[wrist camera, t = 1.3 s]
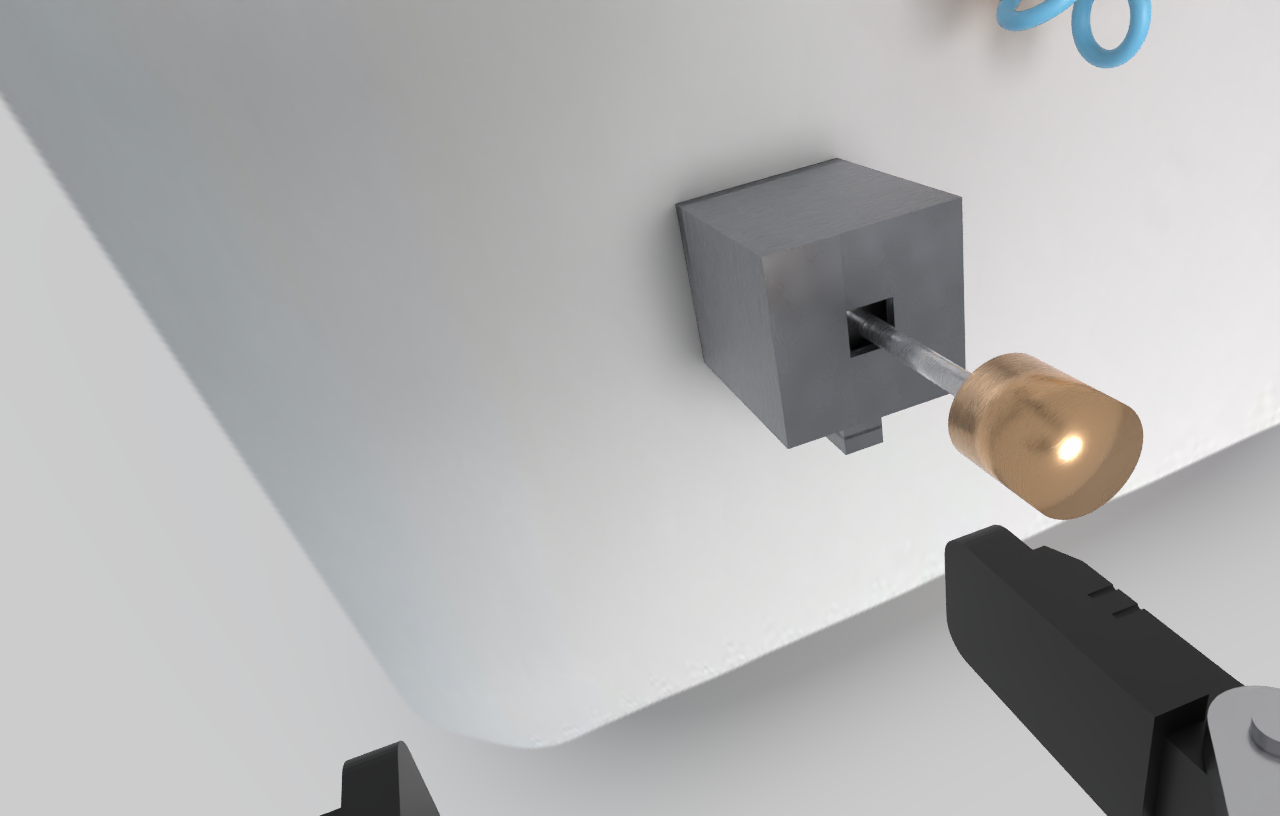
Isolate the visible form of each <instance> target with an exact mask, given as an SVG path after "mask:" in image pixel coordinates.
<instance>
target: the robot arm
mask: <svg viewBox="0 0 1280 816" xmlns="http://www.w3.org/2000/svg"><path fill="white" fill-rule="evenodd" d="M945 580H946V611H947V623H948V628H949V631H950V634H951V637H952V639H953V641H954V643H955V645H956V647H957V649H958V651H959V652H960V654H961V655H962V657H963V658H964V659H965V661H966V662H967V663H968V664H969V665H970V666H971V667H972V668H973V669H974V671H975V672H976V673H977V674H978V675H979V676H980V677H981V678H982V679H983V680H984V682H985V683H986V684H987V685H988V686H989V687H990V688H991V689H992V690H993V691H994V692H995V694H996V695H997V696H998V697H999V698H1000V699H1001V700H1002V701H1003V702H1004V703H1005V704H1006V706H1007V707H1008V708H1009V709H1010V710H1011V711H1012V712H1013V713H1014V714H1015V715H1016V716H1017V718H1019V720H1020V721H1021V722H1022V723H1023V724H1024V725H1025V726H1026V727H1027V728H1028V730H1029V731H1030V732H1031V733H1032V734H1033V735H1034V736H1035V737H1036V738H1037V739H1038V740H1039V742H1040V743H1041V744H1042V745H1043V746H1044V747H1045V748H1046V749H1047V750H1048V751H1049V753H1050V754H1051V755H1052V756H1053V757H1054V758H1055V759H1056V760H1057V761H1058V762H1059V763H1060V765H1062V767H1064V769H1065V770H1066V771H1067V772H1068V773H1069V774H1070V775H1071V776H1072V778H1073V779H1074V780H1075V781H1076V782H1077V783H1078V784H1079V785H1080V786H1081V787H1082V788H1083V790H1085V792H1086V793H1087V794H1088V795H1089V796H1090V797H1091V798H1092V799H1093V801H1094V802H1095V803H1096V804H1097V805H1098V806H1099V807H1100V808H1101V809H1102V810H1103V811H1104V813H1105V814H1106V815H1107V816H1280V689H1279V688H1273V687H1266V686H1244V685H1243V684H1241V683H1240V682H1239V681H1237V680H1236V679H1234V678H1233V677H1232V676H1231V675H1229V674H1228V673H1226V672H1225V671H1224V670H1222V669H1221V668H1220V667H1219V666H1218V665H1216V664H1215V663H1214V662H1212V661H1211V660H1210V659H1208V658H1207V657H1206V656H1205V655H1203V654H1202V653H1201V652H1199V651H1198V650H1197V649H1195V648H1194V647H1193V646H1192V645H1190V644H1189V643H1188V642H1187V641H1185V640H1184V639H1183V638H1181V637H1180V636H1179V635H1178V634H1176V633H1175V632H1173V631H1172V630H1171V629H1170V628H1168V627H1167V626H1166V625H1164V624H1163V623H1162V622H1161V621H1159V620H1158V619H1157V618H1156V617H1154V616H1153V615H1152V614H1150V613H1149V612H1148V611H1146V610H1145V609H1142V610H1141V609H1140V608H1139V607H1138V604H1137V603H1136V602H1135V601H1133V600H1132V599H1131V598H1130V597H1128V596H1127V595H1126V594H1124V593H1123V592H1122V591H1120V590H1119V589H1118V590H1115V589H1114V587H1113V584H1112V583H1110V582H1109V581H1108V580H1106V579H1105V578H1104V577H1102V576H1101V575H1100V574H1099V573H1097V572H1096V571H1095V570H1093V569H1092V568H1091V567H1090V566H1088V565H1087V564H1086V563H1084V562H1083V561H1081V560H1078V559H1076V558H1073V557H1071V556H1069V555H1066V554H1064V553H1061V552H1059V551H1056V550H1054V549H1051V548H1049V547H1046V546H1042V547H1040V548H1037V549H1034V550H1032V549H1031V548H1029V547H1028V546H1027V545H1026V544H1025V543H1023V542H1022V541H1021V540H1020V539H1019V538H1017V537H1016V536H1015V535H1014V534H1012V533H1011V532H1010V531H1009V530H1007V529H1006V528H1004V527H1002V526H1000V525H993V526H990V527H987V528H984V529H982V530H979V531H976V532H974V533H971V534H968V535H965V536H963V537H960V538H957V539H955V540H952V541H949V542H948V543H947V545H946V547H945ZM321 816H440V815H439V812H438V810H437V808H436V806H435V804H434V801H433V799H432V797H431V795H430V793H429V791H428V789H427V787H426V785H425V783H424V781H423V778H422V776H421V774H420V772H419V770H418V768H417V766H416V764H415V762H414V760H413V758H412V755H411V753H410V751H409V749H408V747H407V746H406V744H405V743H404V742H403V741H399V742H396V743H393V744H391V745H388V746H386V747H383V748H380V749H377V750H374V751H372V752H369V753H366V754H363V755H361V756H358V757H356V758H353V759H350V760H347V761H346V762H345V763H344V766H343V772H342V797H341V808H339V809H336V810H334V811H331V812H329V813H326V814H323V815H321Z"/></svg>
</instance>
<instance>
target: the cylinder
mask: <svg viewBox="0 0 1280 816" xmlns="http://www.w3.org/2000/svg"><path fill="white" fill-rule="evenodd" d="M1021 1H1022V0H1001V1H1000V3H999V6H998V8H997V14H996V16H997V21H998V23H999V25H1000V26H1001V27H1002V28H1004V29H1006V30H1009V31H1021V30H1026V29H1030V28H1033V27H1035V26H1038V25H1040V24H1042V23H1045V22H1046V21H1048V20H1050V19H1052V18H1054V17H1055V16H1057V15H1058V14H1060V13H1061V12H1063V11H1064V10H1066V9H1067V8H1068V7H1070V6H1071V5H1072V4H1073V3H1074V6H1073V11H1072V20H1071V25H1072V34H1073V39H1074V42H1075V45H1076V47H1077V49H1078V51H1079V52H1080V54H1081V55H1082V57H1083V58H1084V59H1085V60H1086V61H1087V62H1089V63H1090V64H1092V65H1094V66H1096V67H1100V68H1113V67H1117V66H1120V65H1122V64H1124V63H1125V62H1127V61H1128V60H1130V59H1131V58H1132V57H1133V56H1134V55H1135V54H1136V53H1137V52H1138V50H1139V49H1140V47H1141V46H1142V44H1143V42H1144V40H1145V38H1146V36H1147V33H1148V30H1149V26H1150V21H1151V1H1150V0H1128V2H1129V6H1130V25H1129V29H1128V32H1127V35H1126V37H1125V39H1124V41H1123V42H1122V43H1121V44H1120V45H1119V46H1118V47H1117V48H1115V49H1113V50H1106V49H1103V48H1102V47H1100V46H1099V45H1098V44H1097V42H1096V41H1095V39H1094V37H1093V34H1092V31H1091V26H1090V13H1091V7H1092V4H1093V1H1094V0H1046V1H1044V2H1043V3H1041V4H1039V5H1037V6H1035V7H1033V8H1030V9H1027V10H1024V11H1019V12H1016V8H1017V6H1018V5H1019V3H1020V2H1021Z"/></svg>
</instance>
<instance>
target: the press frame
mask: <svg viewBox="0 0 1280 816" xmlns="http://www.w3.org/2000/svg"><path fill="white" fill-rule="evenodd" d="M676 209H677V215H678V220H679V226H680V231H681V237H682V242H683V248H684V253H685V259H686V264H687V270H688V275H689V280H690V286H691V291H692V297H693V302H694V308H695V313H696V319H697V324H698V330H699V335H700V341H701V346H702V351H703V357H704V362H705V364H706V365H707V366H708V367H709V368H710V369H711V370H712V371H713V372H714V373H715V374H716V375H717V376H718V377H719V378H720V379H721V380H722V381H723V382H724V383H725V384H726V385H727V386H728V387H729V389H730V390H731V391H732V392H733V393H734V394H735V395H736V396H737V397H738V398H739V399H740V400H741V401H742V402H743V403H744V404H745V405H746V406H747V407H748V408H749V409H750V410H751V411H752V412H753V413H754V414H755V415H756V416H757V417H758V419H759V420H760V421H761V422H762V423H763V424H764V425H765V426H766V427H767V428H768V429H769V430H770V431H771V432H772V433H773V434H774V435H775V436H776V437H777V438H778V439H779V440H780V441H781V442H782V443H783V444H784V445H785V446H786V447H787V449H790V448H793V447H795V446H798V445H801V444H804V443H807V442H810V441H813V440H816V439H819V438H822V437H825V436H826V437H827V438H828V439H829V440H830V441H831V442H832V443H833V444H835V445H836V446H837V447H838V448H839V449H840V450H841V451H842V452H843V453H844V454H845V455H847V454H850V453H853V452H856V451H859V450H862V449H864V448H867V447H870V446H873V445H876V444H879V443H882V442H883V435H882V422H881V417H883V416H886V415H889V414H892V413H895V412H897V411H900V410H903V409H906V408H909V407H912V406H915V405H918V404H921V403H924V402H927V401H929V400H932V399H935V398H938V397H941V396H944V395H947V394H950V393H949V392H947V391H946V390H944V389H943V388H941V387H940V386H938V385H937V384H935V383H933V382H932V381H930V380H929V379H927V378H926V377H924V376H923V375H921V374H920V373H918V372H917V371H915V370H914V369H912V368H911V367H909V366H907V365H906V364H904V363H903V362H901V361H900V360H898V359H897V358H895V357H894V356H892V355H891V354H889V353H888V352H886V351H884V350H883V349H881V348H880V347H878V346H877V345H875V344H871V345H868V346H865V347H862V348H859V349H856V350H853V351H850V346H849V335H848V324H847V313H846V312H847V311H850V310H853V309H856V308H859V307H863V306H866V305H869V304H872V303H875V302H878V301H881V300H885V299H886V307H887V322H888V324H890V325H891V326H893V327H895V328H896V329H898V330H900V331H901V332H903V333H905V334H906V335H908V336H910V337H911V338H913V339H915V340H916V341H918V342H920V343H921V344H923V345H925V346H926V347H928V348H930V349H931V350H933V351H935V352H936V353H938V354H940V355H941V356H943V357H945V358H946V359H948V360H950V361H951V362H953V363H955V364H957V365H958V366H960V367H962V368H963V369H965V323H964V274H963V225H962V197H960V196H957V195H954V194H951V193H947V192H944V191H941V190H938V189H935V188H931V187H928V186H925V185H922V184H919V183H915V182H912V181H909V180H906V179H903V178H899V177H896V176H893V175H890V174H886V173H883V172H880V171H877V170H874V169H870V168H867V167H864V166H861V165H858V164H854V163H851V162H848V161H845V160H842V159H838V158H835V159H832V160H828V161H825V162H821V163H818V164H814V165H811V166H807V167H804V168H800V169H797V170H793V171H790V172H786V173H783V174H779V175H775V176H772V177H768V178H765V179H761V180H758V181H754V182H751V183H747V184H744V185H740V186H737V187H733V188H730V189H726V190H723V191H719V192H716V193H712V194H709V195H705V196H702V197H698V198H695V199H691V200H688V201H684V202H681V203H677V204H676Z"/></svg>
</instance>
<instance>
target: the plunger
mask: <svg viewBox="0 0 1280 816" xmlns="http://www.w3.org/2000/svg"><path fill="white" fill-rule="evenodd" d="M846 313H847V324H848V335H849V346H850V351H853V350H856V349H859V348H862V347H865V346H868V345H871V344H875V345H877V346H878V347H880V348H881V349H883V350H884V351H886V352H888V353H889V354H891V355H892V356H894V357H895V358H897V359H898V360H900V361H901V362H903V363H904V364H906V365H907V366H909V367H911V368H912V369H914V370H915V371H917V372H918V373H920V374H921V375H923V376H924V377H926V378H927V379H929V380H930V381H932V382H933V383H935V384H937V385H938V386H940V387H941V388H943V389H944V390H946V391H947V392H949V393H950V394H952V395H953V396H955V398H954V401H953V403H952V406H951V409H950V413H949V420H948V428H949V435H950V438H951V441H952V443H953V445H954V446H955V448H956V449H957V450H958V451H959V452H960V453H961V454H963V455H964V456H965V457H967V458H968V459H969V460H971V461H972V462H973V463H975V464H976V465H978V466H979V467H980V468H982V469H983V470H984V471H986V472H987V473H988V474H990V475H991V476H992V477H994V478H995V479H996V480H998V481H999V482H1000V483H1002V484H1003V485H1005V486H1006V487H1007V488H1009V489H1010V490H1011V491H1013V492H1014V493H1015V494H1017V495H1018V496H1019V497H1021V498H1022V499H1023V500H1025V501H1026V502H1027V503H1029V504H1030V505H1031V506H1033V507H1034V508H1036V509H1037V510H1038V511H1040V512H1041V513H1042V514H1044V515H1045V516H1048V517H1050V518H1053V519H1059V520H1067V519H1074V518H1078V517H1081V516H1084V515H1086V514H1089V513H1091V512H1093V511H1094V510H1096V509H1098V508H1099V507H1101V506H1102V505H1104V504H1105V503H1106V502H1108V501H1109V500H1110V499H1111V498H1112V497H1113V496H1114V495H1115V494H1116V493H1117V492H1118V491H1119V490H1120V489H1121V488H1122V487H1123V486H1124V484H1125V483H1126V482H1127V480H1128V479H1129V477H1130V476H1131V474H1132V472H1133V470H1134V468H1135V466H1136V464H1137V462H1138V459H1139V457H1140V453H1141V450H1142V444H1143V429H1142V425H1141V421H1140V419H1139V417H1138V415H1137V414H1136V413H1135V411H1134V410H1132V409H1131V408H1130V407H1129V406H1127V405H1125V404H1123V403H1121V402H1119V401H1117V400H1116V399H1114V398H1112V397H1110V396H1108V395H1106V394H1104V393H1102V392H1100V391H1098V390H1096V389H1094V388H1092V387H1090V386H1089V385H1087V384H1085V383H1083V382H1081V381H1079V380H1077V379H1075V378H1073V377H1071V376H1069V375H1067V374H1065V373H1063V372H1061V371H1060V370H1058V369H1056V368H1054V367H1052V366H1050V365H1048V364H1046V363H1044V362H1042V361H1040V360H1038V359H1036V358H1034V357H1032V356H1030V355H1027V354H1023V353H1010V354H1005V355H1001V356H998V357H996V358H993V359H991V360H989V361H988V362H986V363H984V364H983V365H981V366H980V367H979V368H978V369H976V370H975V371H974V372H973V373H970V372H968V371H967V370H965V369H963V368H962V367H960V366H958V365H957V364H955V363H953V362H951V361H950V360H948V359H946V358H945V357H943V356H941V355H940V354H938V353H936V352H935V351H933V350H931V349H930V348H928V347H926V346H925V345H923V344H921V343H920V342H918V341H916V340H915V339H913V338H911V337H910V336H908V335H906V334H905V333H903V332H901V331H900V330H898V329H896V328H895V327H893V326H891V325H890V324H888V322H887V307H886V299H885V300H881V301H878V302H875V303H872V304H869V305H866V306H863V307H859V308H856V309H853V310H850V311H847V312H846Z"/></svg>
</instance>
